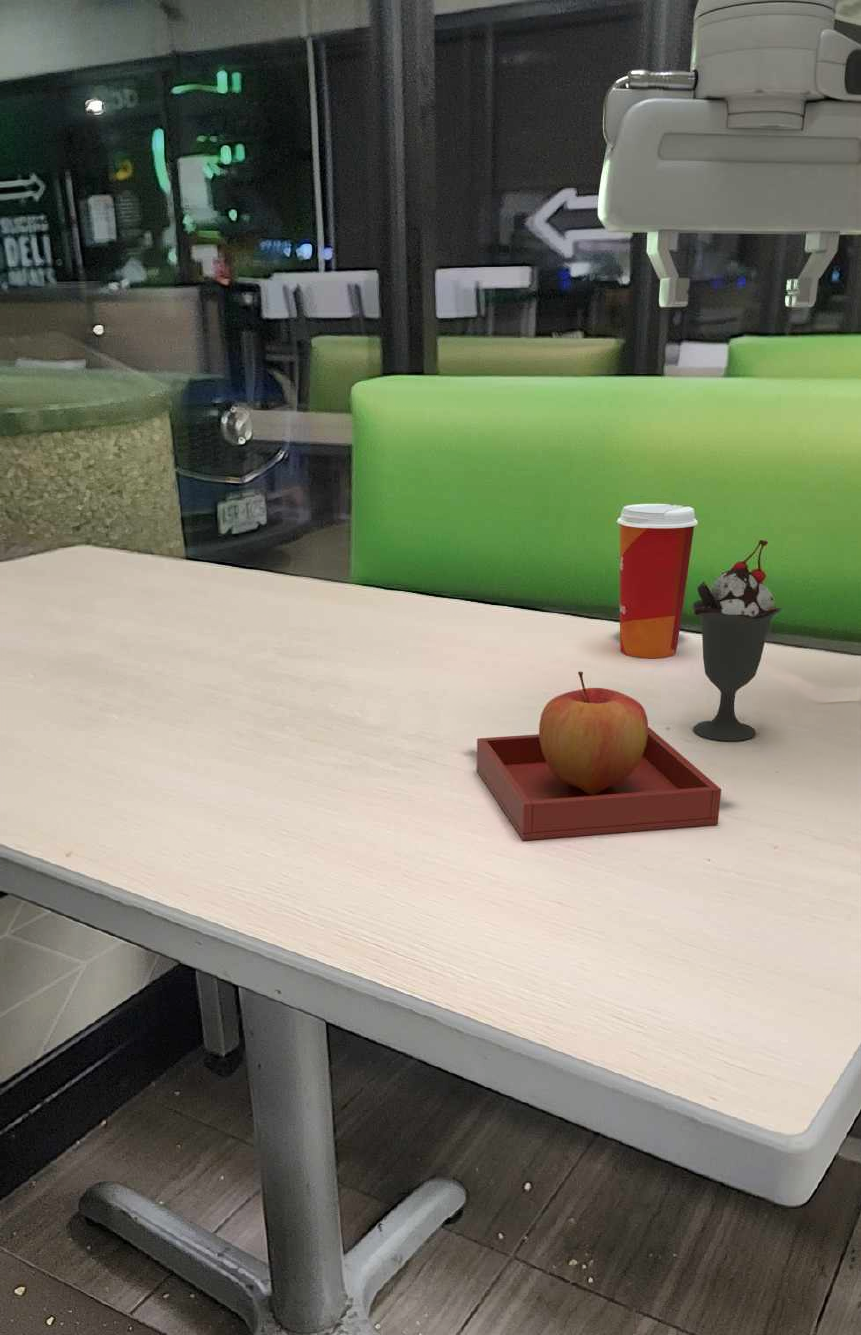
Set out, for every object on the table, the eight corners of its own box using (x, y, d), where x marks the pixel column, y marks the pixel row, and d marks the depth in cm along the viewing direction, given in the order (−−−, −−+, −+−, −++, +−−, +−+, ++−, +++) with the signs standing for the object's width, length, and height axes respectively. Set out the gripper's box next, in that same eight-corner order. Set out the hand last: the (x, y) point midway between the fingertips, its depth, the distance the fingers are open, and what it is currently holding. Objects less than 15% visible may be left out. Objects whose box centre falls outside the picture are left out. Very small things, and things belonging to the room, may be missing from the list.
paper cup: (644, 638, 122) (653, 500, 117) (702, 652, 117) (715, 508, 111) (592, 650, 118) (600, 507, 112) (651, 665, 112) (662, 516, 107)
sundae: (776, 726, 95) (799, 538, 89) (752, 750, 90) (774, 552, 84) (698, 714, 98) (714, 532, 92) (670, 736, 93) (686, 544, 87)
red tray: (646, 758, 88) (649, 726, 87) (718, 824, 76) (721, 789, 75) (476, 770, 86) (476, 738, 85) (522, 840, 74) (523, 804, 73)
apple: (595, 817, 76) (602, 699, 73) (515, 787, 81) (518, 676, 78) (665, 789, 81) (674, 677, 77) (585, 763, 86) (590, 656, 82)
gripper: (622, 57, 71) (609, 306, 77) (926, 68, 75) (893, 306, 80) (590, 78, 77) (580, 308, 83) (874, 87, 80) (846, 307, 86)
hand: (736, 307), depth 81 cm, fingers open, 8 cm apart
